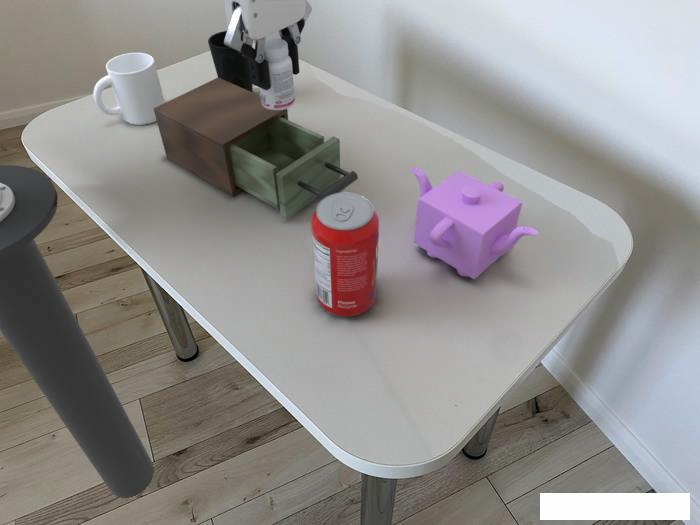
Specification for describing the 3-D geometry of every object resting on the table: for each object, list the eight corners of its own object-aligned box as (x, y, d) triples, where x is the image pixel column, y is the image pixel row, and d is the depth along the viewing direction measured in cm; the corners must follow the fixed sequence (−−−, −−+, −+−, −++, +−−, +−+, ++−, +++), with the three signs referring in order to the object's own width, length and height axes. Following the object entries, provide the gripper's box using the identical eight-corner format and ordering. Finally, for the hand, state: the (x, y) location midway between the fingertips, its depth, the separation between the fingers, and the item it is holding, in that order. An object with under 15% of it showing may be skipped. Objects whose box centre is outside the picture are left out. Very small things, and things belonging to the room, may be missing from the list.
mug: (110, 137, 103) (92, 84, 96) (96, 117, 108) (78, 65, 101) (173, 117, 108) (160, 65, 101) (158, 99, 113) (144, 48, 106)
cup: (219, 110, 110) (208, 49, 101) (217, 91, 115) (207, 32, 107) (260, 106, 111) (252, 45, 102) (256, 87, 116) (248, 28, 108)
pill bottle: (299, 96, 82) (295, 38, 76) (289, 113, 79) (284, 53, 73) (267, 93, 83) (261, 35, 77) (256, 109, 80) (248, 50, 74)
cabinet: (292, 158, 98) (287, 107, 91) (232, 196, 91) (222, 144, 84) (226, 126, 106) (218, 77, 99) (167, 158, 98) (153, 108, 92)
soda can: (306, 311, 74) (298, 222, 63) (329, 270, 79) (325, 182, 68) (364, 328, 72) (366, 239, 61) (384, 284, 77) (388, 196, 66)
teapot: (509, 222, 86) (523, 161, 78) (523, 288, 76) (541, 226, 69) (406, 219, 87) (411, 159, 79) (407, 284, 77) (413, 222, 69)
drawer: (368, 194, 89) (369, 152, 84) (315, 236, 83) (312, 192, 77) (272, 147, 99) (267, 106, 94) (217, 180, 92) (208, 138, 87)
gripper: (288, -91, 72) (298, 50, 85) (180, -59, 63) (209, 94, 76) (333, -81, 69) (337, 64, 81) (226, -46, 59) (249, 112, 72)
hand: (275, 77), depth 78 cm, fingers closed on pill bottle, 4 cm apart
